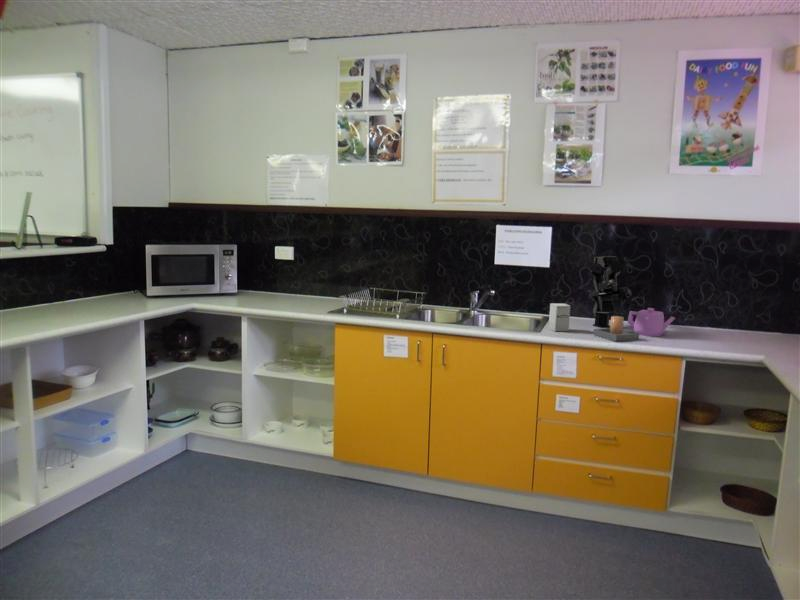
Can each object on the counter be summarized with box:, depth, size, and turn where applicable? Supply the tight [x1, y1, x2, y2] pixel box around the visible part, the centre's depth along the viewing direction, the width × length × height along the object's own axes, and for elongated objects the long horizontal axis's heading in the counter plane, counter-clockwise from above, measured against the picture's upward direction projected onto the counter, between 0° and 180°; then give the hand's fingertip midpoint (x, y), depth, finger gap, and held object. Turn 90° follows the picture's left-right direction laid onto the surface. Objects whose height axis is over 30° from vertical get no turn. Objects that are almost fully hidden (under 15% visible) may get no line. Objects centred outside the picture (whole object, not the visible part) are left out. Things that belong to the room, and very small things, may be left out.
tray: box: [593, 327, 640, 343], centre depth 288 cm, size 14×14×3 cm
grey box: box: [548, 302, 571, 332], centre depth 301 cm, size 7×7×13 cm
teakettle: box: [627, 307, 676, 338], centre depth 299 cm, size 17×17×12 cm
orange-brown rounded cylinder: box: [609, 315, 625, 335], centre depth 287 cm, size 6×6×9 cm
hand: (610, 310), depth 297 cm, fingers open, 9 cm apart
